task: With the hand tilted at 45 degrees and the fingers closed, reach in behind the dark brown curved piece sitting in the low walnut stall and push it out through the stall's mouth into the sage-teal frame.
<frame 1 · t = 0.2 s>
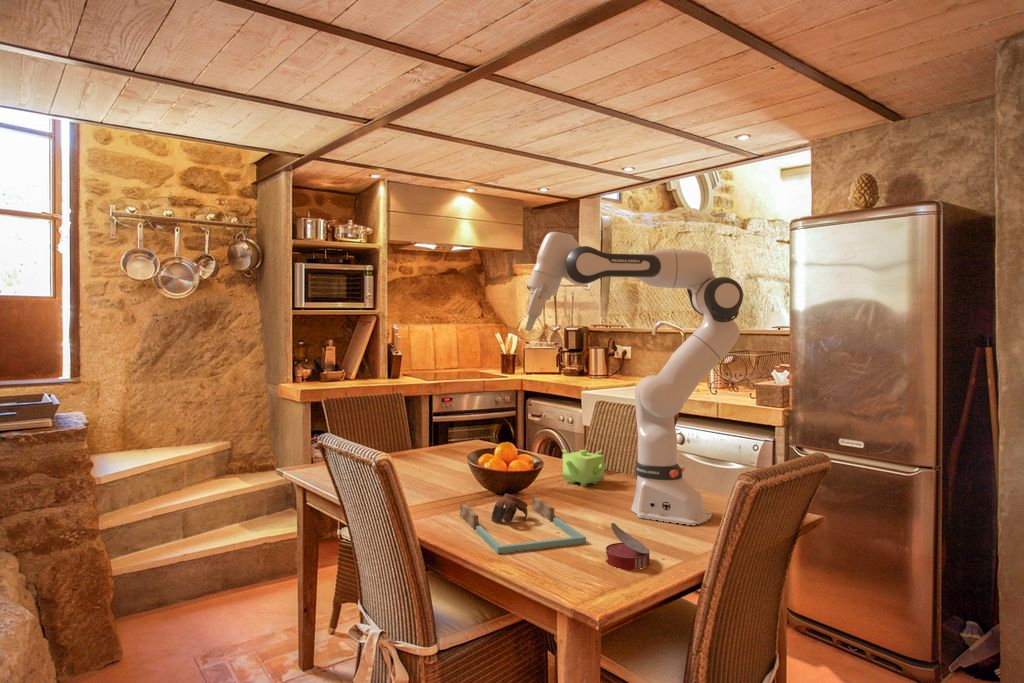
hand: (527, 331, 189), 52 cm above the table, tool tilted 20°, fingers open, 8 cm apart
walnut stall: (509, 520, 180), on the table
teal frame: (529, 534, 166), on the table
green knobbed block: (583, 483, 224), on the table
canned food: (627, 563, 150), on the table
dark brown curved piece: (509, 522, 180), on the table
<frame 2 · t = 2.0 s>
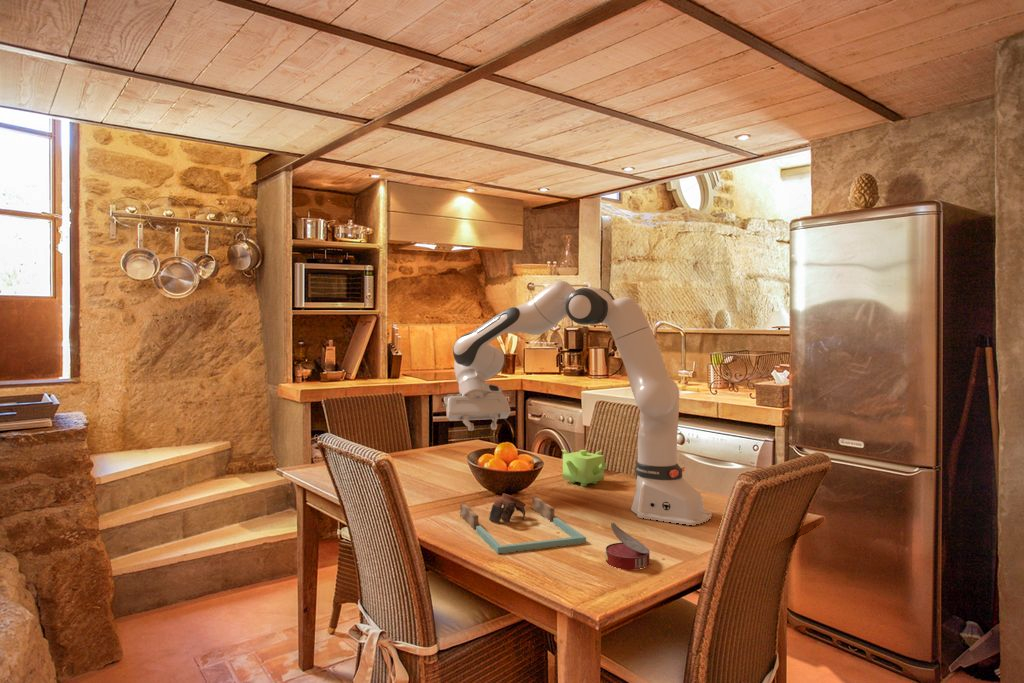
hand: (483, 429, 202), 21 cm above the table, tool tilted 45°, fingers open, 6 cm apart
nothing on the table moved.
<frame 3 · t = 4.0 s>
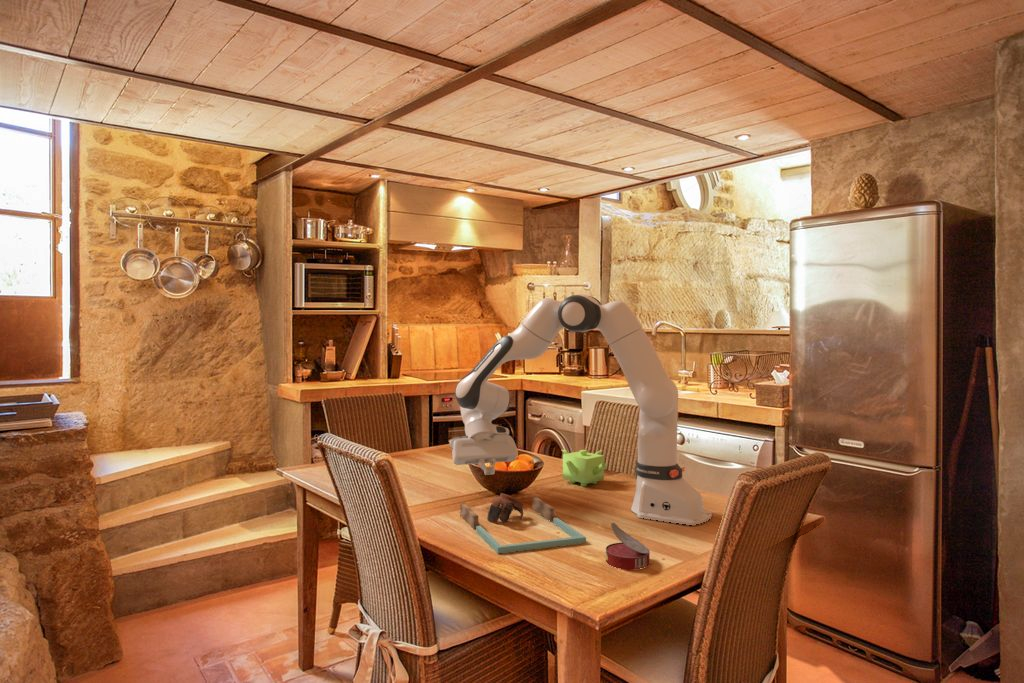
hand: (490, 473, 196), 9 cm above the table, tool tilted 45°, fingers closed
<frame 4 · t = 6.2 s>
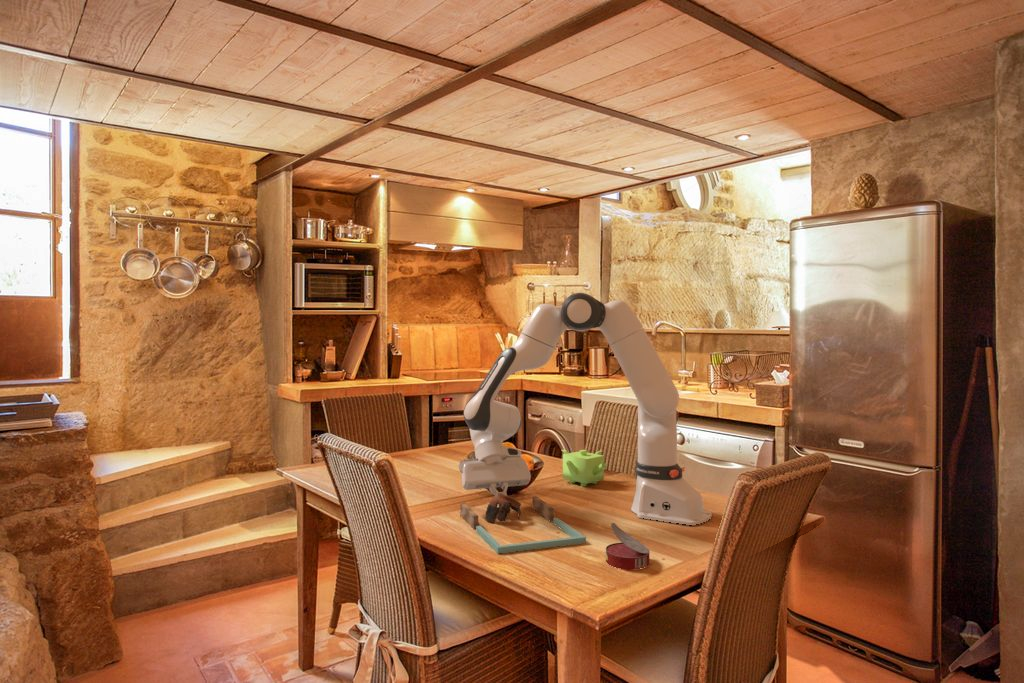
hand: (501, 498, 186), 4 cm above the table, tool tilted 45°, fingers closed
dark brown curved piece: (502, 521, 180), on the table, touching gripper
everything else where it was.
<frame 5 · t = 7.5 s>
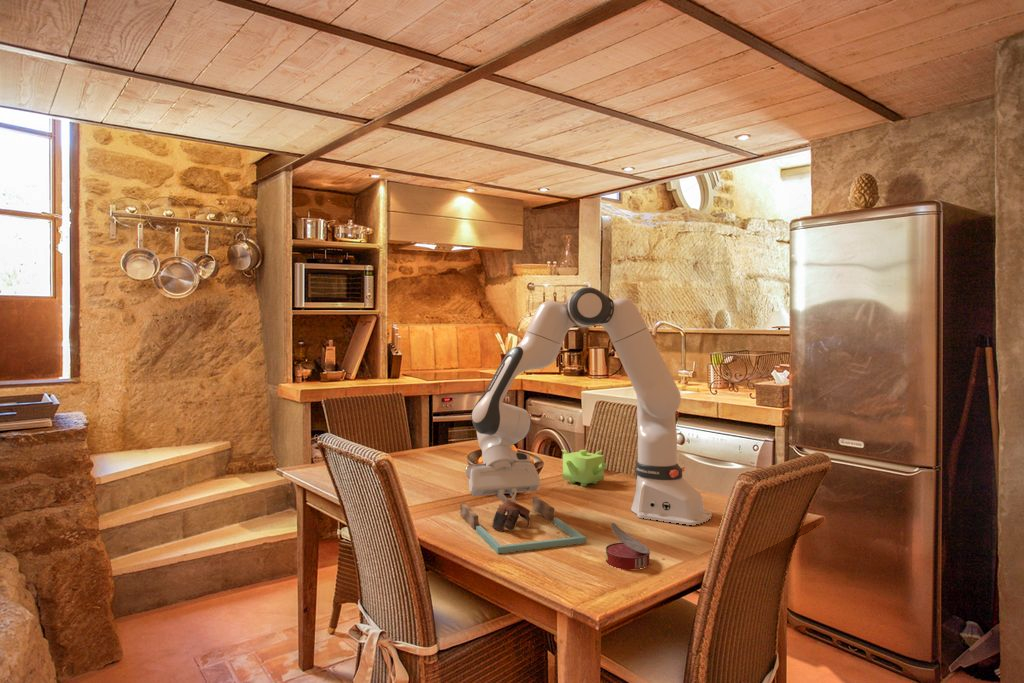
hand: (510, 505, 179), 4 cm above the table, tool tilted 45°, fingers closed
dark brown curved piece: (511, 529, 173), on the table, touching gripper
everything else where it was.
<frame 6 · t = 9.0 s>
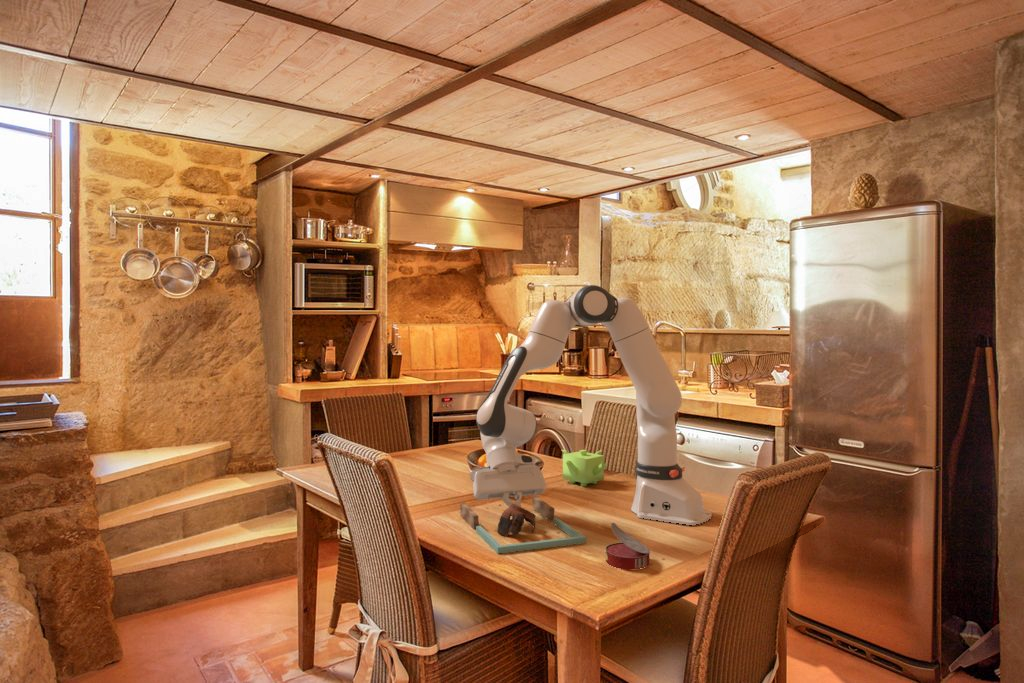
hand: (515, 509, 176), 4 cm above the table, tool tilted 45°, fingers closed
dark brown curved piece: (516, 534, 170), on the table
everything else where it was.
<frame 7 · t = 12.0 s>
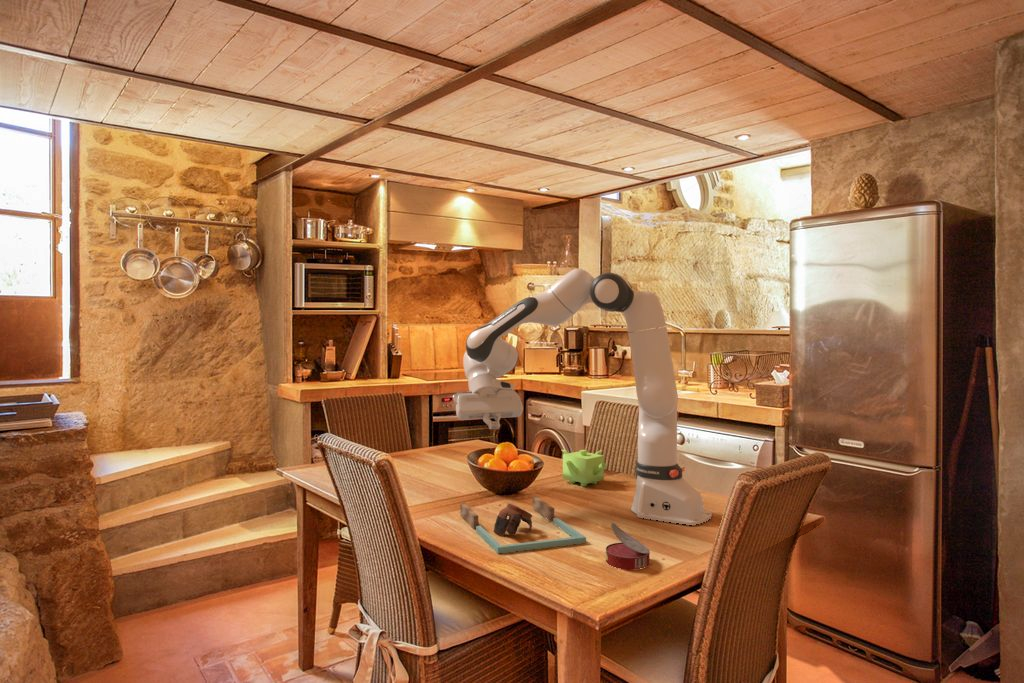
hand: (494, 428, 192), 24 cm above the table, tool tilted 45°, fingers closed
nothing on the table moved.
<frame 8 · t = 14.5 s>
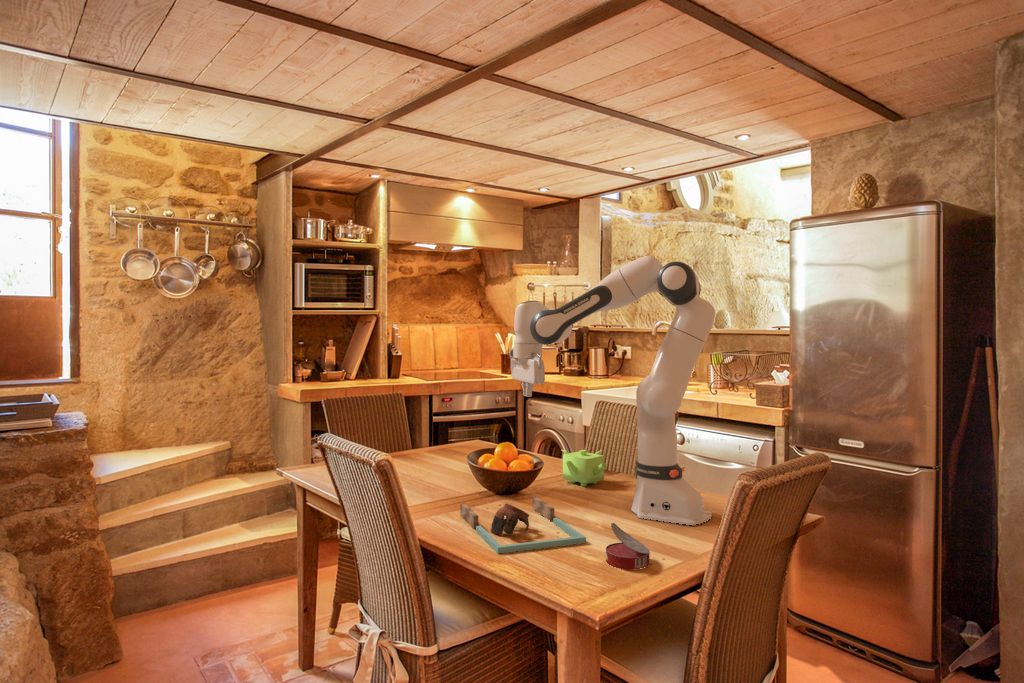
hand: (527, 396, 207), 31 cm above the table, tool pointing down, fingers closed
at the end: dark brown curved piece inside the target area (5.0 cm from its centre), on the table; dark brown curved piece tilted 1° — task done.
